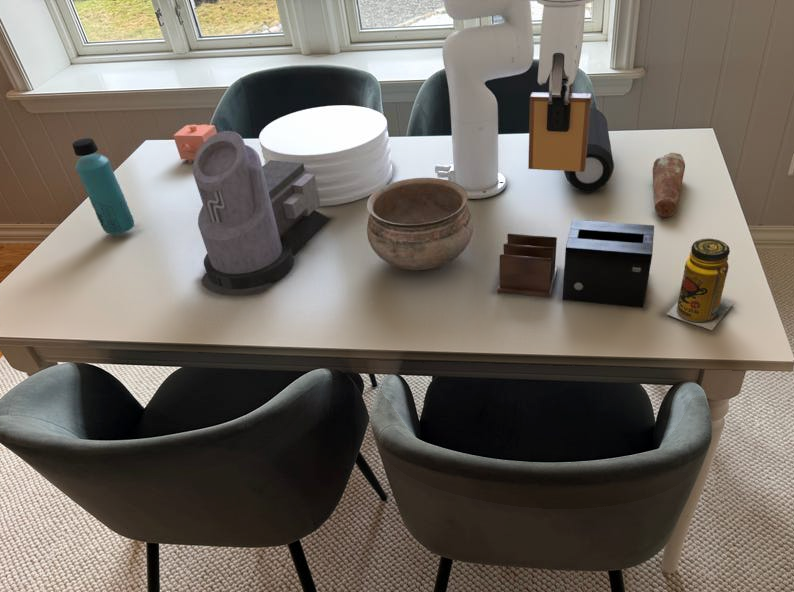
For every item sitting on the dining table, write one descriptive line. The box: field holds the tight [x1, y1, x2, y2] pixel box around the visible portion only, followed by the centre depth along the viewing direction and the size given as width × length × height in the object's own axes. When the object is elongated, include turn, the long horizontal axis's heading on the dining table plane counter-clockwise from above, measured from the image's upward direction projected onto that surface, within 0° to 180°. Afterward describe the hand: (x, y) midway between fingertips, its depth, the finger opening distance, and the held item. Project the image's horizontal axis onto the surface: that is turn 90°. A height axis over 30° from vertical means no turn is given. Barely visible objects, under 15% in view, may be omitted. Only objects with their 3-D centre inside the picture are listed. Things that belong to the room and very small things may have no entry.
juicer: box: [192, 130, 331, 297], centre depth 122 cm, size 30×16×24 cm, turn 158°
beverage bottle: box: [71, 137, 135, 235], centre depth 133 cm, size 6×7×20 cm
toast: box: [527, 91, 593, 172], centre depth 99 cm, size 8×2×11 cm, turn 74°
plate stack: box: [258, 104, 394, 207], centre depth 150 cm, size 28×28×12 cm
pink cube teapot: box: [172, 124, 218, 163], centre depth 165 cm, size 8×12×8 cm, turn 168°
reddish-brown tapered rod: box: [652, 152, 686, 218], centre depth 133 cm, size 6×19×6 cm, turn 161°
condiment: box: [666, 238, 734, 331], centre depth 102 cm, size 7×8×12 cm
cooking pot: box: [366, 177, 474, 271], centre depth 119 cm, size 25×19×12 cm
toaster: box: [561, 219, 655, 309], centre depth 109 cm, size 13×10×10 cm
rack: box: [496, 233, 558, 298], centre depth 113 cm, size 9×8×7 cm
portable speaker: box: [563, 107, 615, 193], centre depth 144 cm, size 26×10×10 cm, turn 172°
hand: (558, 126), depth 98 cm, fingers closed on toast, 1 cm apart
